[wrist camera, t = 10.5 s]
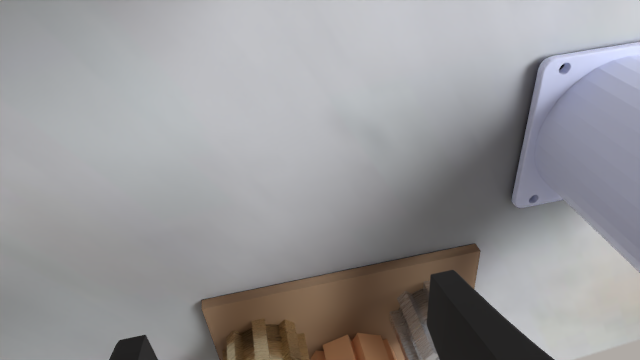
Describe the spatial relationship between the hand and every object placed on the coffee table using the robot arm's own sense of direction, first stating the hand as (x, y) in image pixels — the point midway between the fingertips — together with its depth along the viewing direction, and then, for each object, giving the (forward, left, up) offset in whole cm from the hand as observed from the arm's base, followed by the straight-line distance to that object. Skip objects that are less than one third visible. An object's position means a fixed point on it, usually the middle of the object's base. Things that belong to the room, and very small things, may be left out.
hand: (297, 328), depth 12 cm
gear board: (-3, +14, -9) cm, 17 cm away
